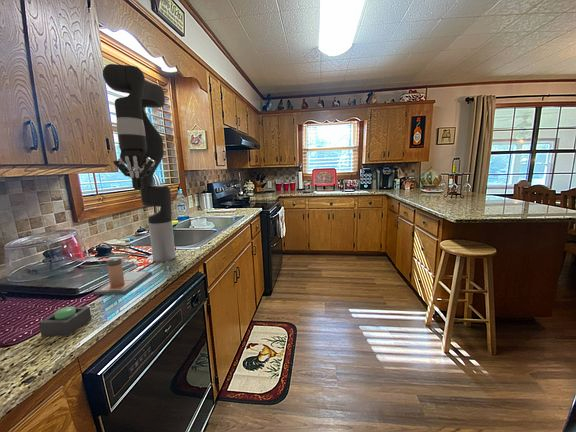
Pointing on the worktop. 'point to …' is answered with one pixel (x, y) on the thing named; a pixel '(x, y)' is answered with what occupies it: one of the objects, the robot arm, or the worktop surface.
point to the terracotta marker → (115, 272)
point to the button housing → (65, 323)
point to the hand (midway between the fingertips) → (138, 189)
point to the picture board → (130, 282)
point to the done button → (65, 313)
